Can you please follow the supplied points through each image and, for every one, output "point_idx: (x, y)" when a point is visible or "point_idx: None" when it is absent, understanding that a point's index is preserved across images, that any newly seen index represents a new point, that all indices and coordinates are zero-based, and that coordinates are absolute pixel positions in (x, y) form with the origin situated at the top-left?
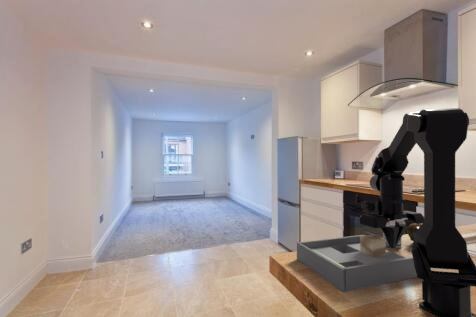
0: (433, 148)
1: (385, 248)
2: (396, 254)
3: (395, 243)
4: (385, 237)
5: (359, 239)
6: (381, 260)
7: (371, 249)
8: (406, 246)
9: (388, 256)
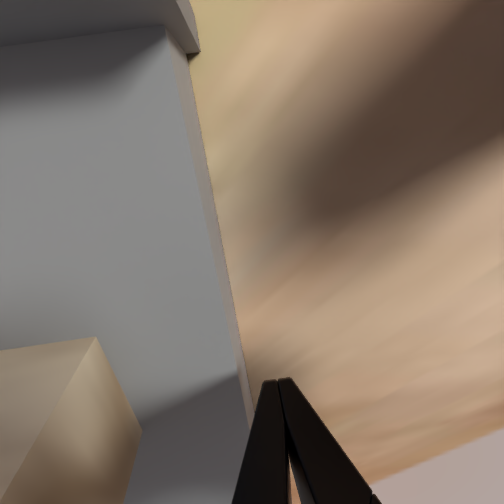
0: None
1: (123, 495)
2: (239, 422)
3: (292, 468)
4: None
5: (14, 27)
6: None
7: None
8: None
9: (148, 445)
